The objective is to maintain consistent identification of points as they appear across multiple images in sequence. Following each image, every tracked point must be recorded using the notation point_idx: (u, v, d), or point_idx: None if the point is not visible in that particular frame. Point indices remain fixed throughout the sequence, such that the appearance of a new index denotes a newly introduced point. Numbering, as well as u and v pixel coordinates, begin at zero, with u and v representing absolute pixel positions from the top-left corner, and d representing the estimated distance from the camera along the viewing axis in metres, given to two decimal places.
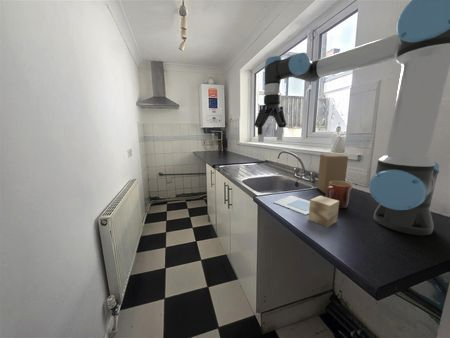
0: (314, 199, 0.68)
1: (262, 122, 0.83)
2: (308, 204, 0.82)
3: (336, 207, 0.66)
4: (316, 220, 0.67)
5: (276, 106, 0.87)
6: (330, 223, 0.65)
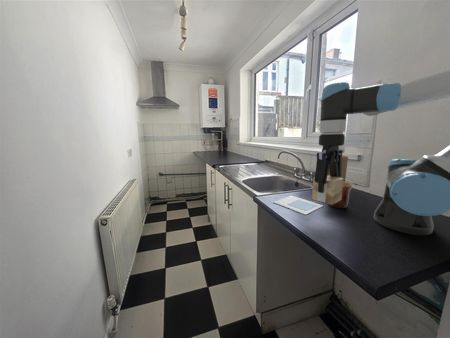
0: None
1: (324, 177, 0.61)
2: (308, 204, 0.82)
3: (340, 184, 0.64)
4: None
5: (337, 147, 0.63)
6: (334, 201, 0.63)
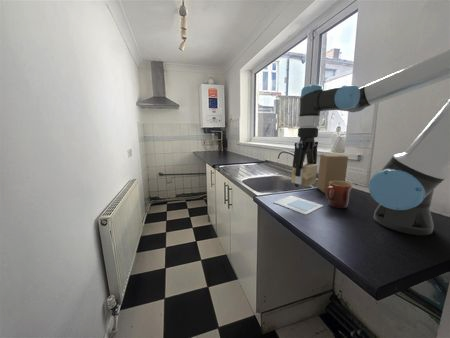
0: None
1: (300, 163, 0.74)
2: (308, 204, 0.82)
3: (314, 170, 0.76)
4: None
5: (312, 139, 0.76)
6: (309, 183, 0.76)
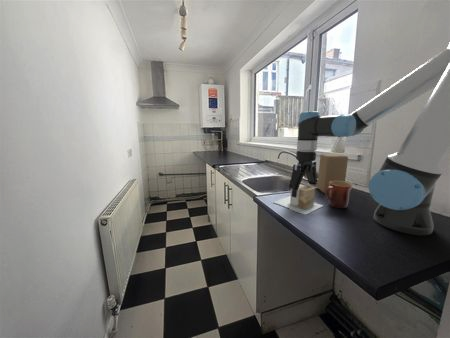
0: None
1: (297, 184, 0.75)
2: None
3: (312, 193, 0.78)
4: None
5: (310, 162, 0.78)
6: (307, 206, 0.78)
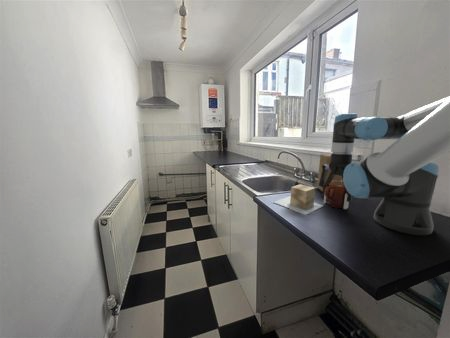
0: (294, 187, 0.81)
1: None
2: None
3: (312, 193, 0.78)
4: (296, 204, 0.80)
5: (344, 165, 0.74)
6: (307, 206, 0.78)
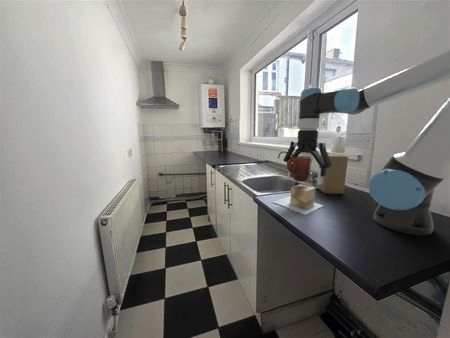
0: (294, 187, 0.81)
1: (289, 158, 0.82)
2: None
3: (312, 193, 0.78)
4: (296, 204, 0.80)
5: (310, 142, 0.74)
6: (307, 206, 0.78)
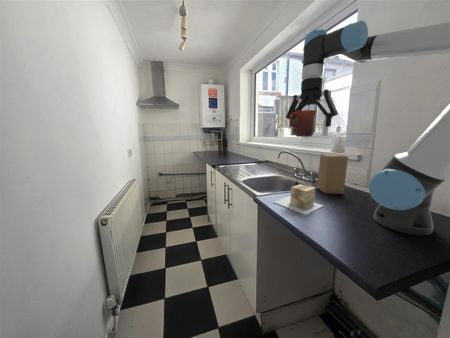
0: (294, 187, 0.81)
1: None
2: None
3: (312, 193, 0.78)
4: (296, 204, 0.80)
5: (314, 92, 0.70)
6: (307, 206, 0.78)
